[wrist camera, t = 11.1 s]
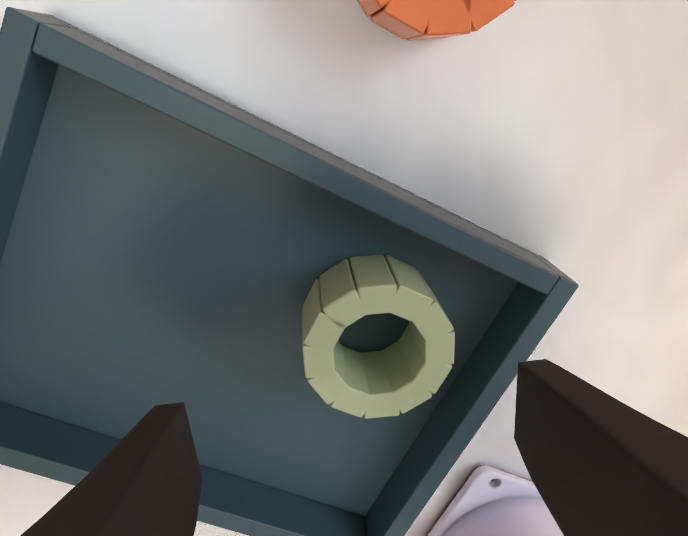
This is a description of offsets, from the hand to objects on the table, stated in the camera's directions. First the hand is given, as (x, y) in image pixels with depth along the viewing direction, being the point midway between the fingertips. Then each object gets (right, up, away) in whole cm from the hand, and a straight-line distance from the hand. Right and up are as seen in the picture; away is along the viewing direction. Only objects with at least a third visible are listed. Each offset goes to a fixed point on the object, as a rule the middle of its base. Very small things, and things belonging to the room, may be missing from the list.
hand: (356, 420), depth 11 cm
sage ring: (+1, +1, +8) cm, 8 cm away
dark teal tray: (-4, +1, +9) cm, 10 cm away
